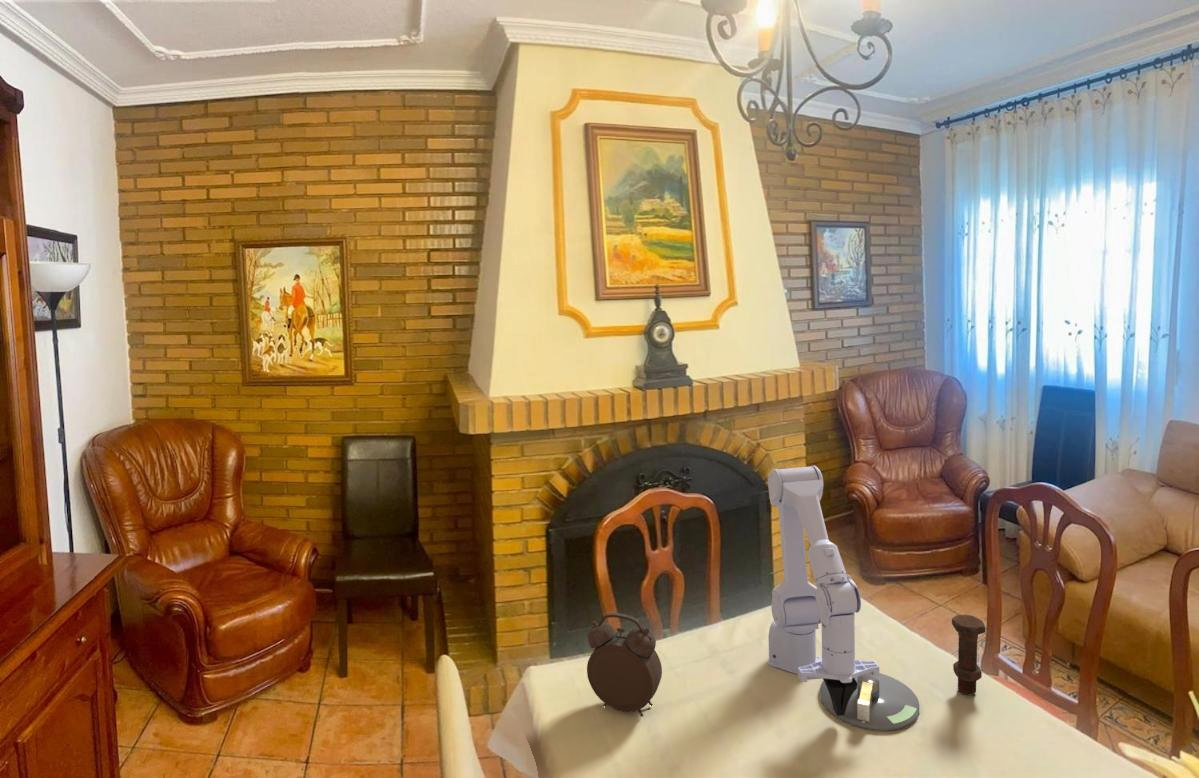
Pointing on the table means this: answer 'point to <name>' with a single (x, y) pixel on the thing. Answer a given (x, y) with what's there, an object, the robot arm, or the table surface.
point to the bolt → (967, 652)
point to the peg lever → (866, 695)
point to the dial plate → (880, 706)
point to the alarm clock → (623, 665)
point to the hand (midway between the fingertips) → (838, 712)
